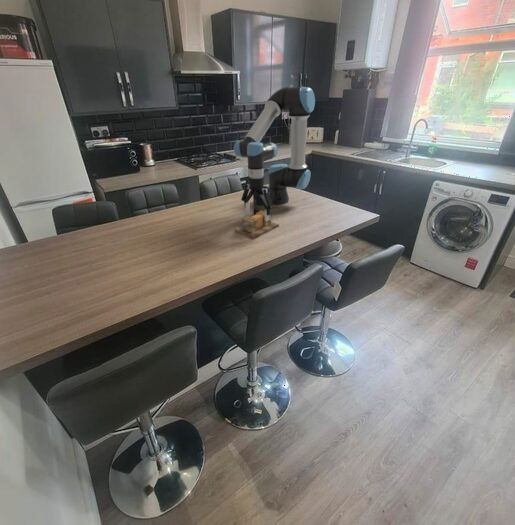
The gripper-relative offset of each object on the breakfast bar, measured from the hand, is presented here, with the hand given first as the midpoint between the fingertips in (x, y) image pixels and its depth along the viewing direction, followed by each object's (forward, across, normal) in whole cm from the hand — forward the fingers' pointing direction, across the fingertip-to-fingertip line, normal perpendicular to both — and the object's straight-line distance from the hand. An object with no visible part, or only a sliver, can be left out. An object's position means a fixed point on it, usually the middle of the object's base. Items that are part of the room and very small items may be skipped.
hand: (257, 217), depth 153 cm
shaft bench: (+6, 0, -1) cm, 6 cm away
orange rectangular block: (+5, 0, -1) cm, 5 cm away
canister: (+7, -10, +14) cm, 19 cm away
